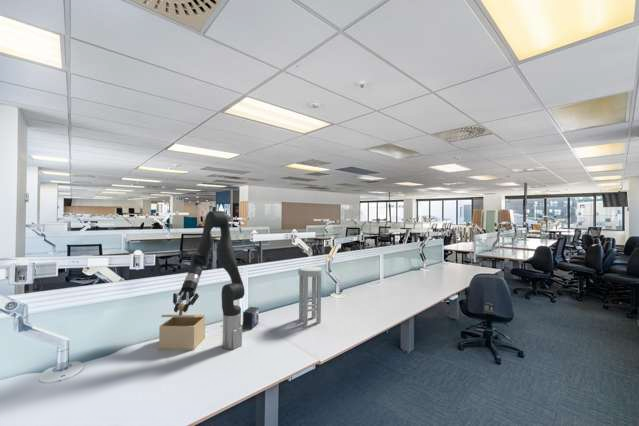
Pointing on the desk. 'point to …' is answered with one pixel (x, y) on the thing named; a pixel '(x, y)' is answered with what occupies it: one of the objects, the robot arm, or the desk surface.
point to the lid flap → (180, 308)
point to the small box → (250, 318)
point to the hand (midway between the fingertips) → (179, 311)
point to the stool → (303, 306)
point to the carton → (181, 333)
